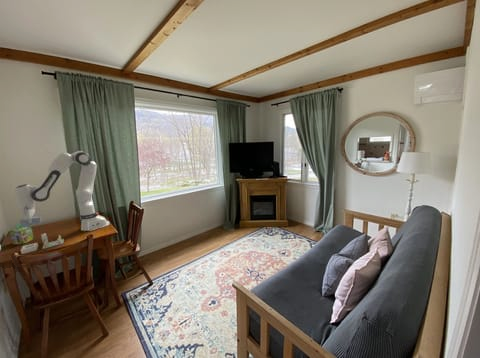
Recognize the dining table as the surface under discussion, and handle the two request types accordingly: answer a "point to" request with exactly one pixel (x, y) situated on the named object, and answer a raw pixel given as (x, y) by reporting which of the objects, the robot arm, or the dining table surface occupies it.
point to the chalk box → (21, 235)
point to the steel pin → (43, 237)
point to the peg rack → (54, 243)
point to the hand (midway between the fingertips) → (31, 221)
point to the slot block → (29, 248)
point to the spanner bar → (34, 221)
